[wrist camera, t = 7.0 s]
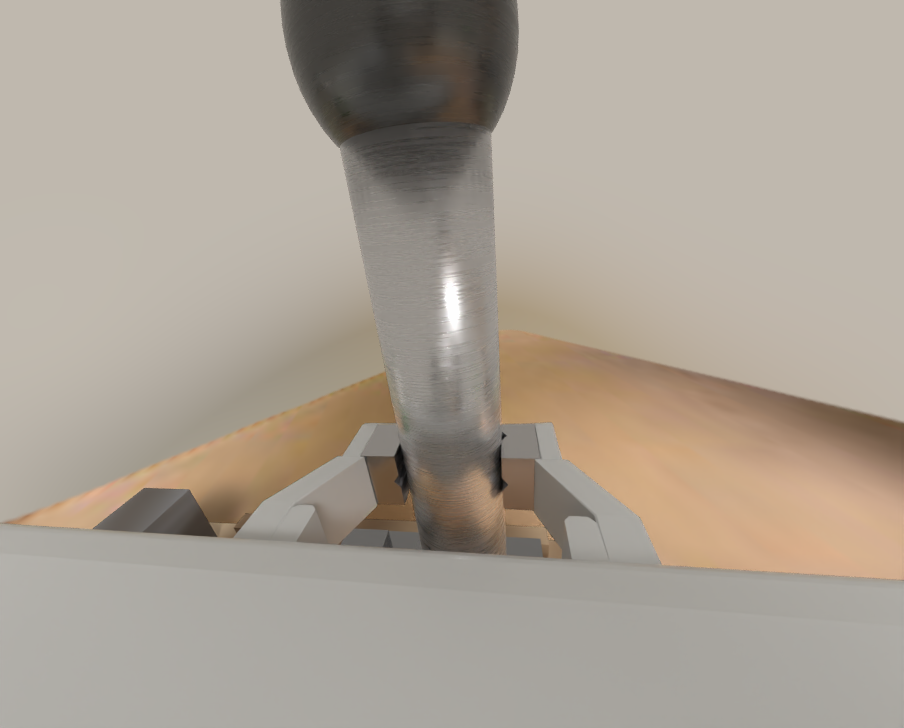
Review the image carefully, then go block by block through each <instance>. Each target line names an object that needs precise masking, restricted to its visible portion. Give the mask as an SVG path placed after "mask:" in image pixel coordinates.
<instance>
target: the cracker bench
mask: <svg viewBox="0 0 904 728" xmlns="http://www.w3.org/2000/svg"><path fill="white" fill-rule="evenodd" d="M251 515H252V514H247V513H245V515H244V516H243V517H242V518H241V519H240V521H239V522H238V523H237V524H230V523H211V522H208V520H207V518H206V517H205V515H204V513H203V512H202V510H201V508H200V507H199V505H198V503H197V502H196V500H195V498H194V497H193V495H192V493H191V492H190V490H188V489H158V488H144V489H142V490H141V491H140V492H139V493H137V494H136V495H135V496H133V497H132V498H131V499H130V500H128V501H127V502H126V503H125V504H123V505H122V506H121V507H120V508H118V509H117V510H116V511H114V512H113V513H112V514H111V515H109V516H108V517H107V518H106V519H104V520H103V521H102V522H100V523H99V524H98V525H97V526H95V527H94V528H93V529H96V530H112V531H128V532H144V533H160V534H176V535H192V536H208V537H224V538H233V537H234V536H235V535H236V534H237V532H238V531H239V530H240V529H241V527H242V526H243V525H244V524H245V523H246V521H247V520H248V519H249V518H250V516H251ZM505 527H506V537H518V538H537V539H541V546H542V553H543V558H558V559H562V549H561V548H560V546H559V545H558V544H557V542H556V541H555V540H548V535H547V529H546V528H545V527H532V526H510V525H505ZM355 529H375V530H389V531H401V532H418V527H417V522H416V521H401V520H379V519H364V520H363V521H361V522H360V523H359V524H358V525H357V526H356V527H355ZM341 542H342V541H341ZM341 542H340V543H339V544H338V545H341Z"/></svg>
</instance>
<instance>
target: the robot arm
mask: <svg viewBox="0 0 904 728" xmlns="http://www.w3.org/2000/svg"><path fill="white" fill-rule="evenodd" d="M501 461H502V491H503V509H516V510H531V511H534V513H535V514H536V515H537V517H538V518H539V519H540V521H541V522H542V523H543V525H544V526H545V528H546V529H547V530H548V532H549V533H550V534H551V536H552V537H553V538H554V540H555V541H556V542H557V544H558V545H559V546H560V548H561V549H562V559H558V558H543V557H527V556H511V555H496V554H480V553H465V552H449V551H432V550H416V549H400V548H384V547H368V546H352V545H338V544H339V543H340V542H341V541H342V540H343V539H344V538H345V537H346V536H347V535H348V534H349V533H350V532H351V531H352V530H353V529H354V528H355V527H356V526H357V525H358V524H359V523H360V522H361V521H363V520H364V519H365V518H366V517H367V516H368V515H369V514H370V513H371V512H372V511H373V510H374V509H375V508H376V507H377V504H389V505H405V502H406V499H407V496H408V493H409V490H410V488H409V483H408V478H407V473H406V469H405V464H404V459H403V454H402V449H401V444H400V439H399V434H398V429H397V425H396V423H365V424H363V425H362V426H361V428H360V429H359V431H358V432H357V434H356V436H355V437H354V439H353V440H352V442H351V443H350V445H349V446H348V448H347V450H346V451H345V453H344V454H343V456H337V457H336V458H334V459H332V460H331V461H329V462H327V463H326V464H324V465H322V466H321V467H319V468H317V469H316V470H314V471H312V472H311V473H309V474H307V475H306V476H304V477H302V478H301V479H299V480H297V481H296V482H294V483H292V484H291V485H289V486H288V487H286V488H284V489H283V490H281V491H279V492H278V493H276V494H274V495H273V496H271V497H269V498H268V499H266V500H264V501H263V502H262V503H261V504H260V505H259V507H258V508H257V509H256V510H255V511H254V513H253V514H252V515H251V516H250V518H249V519H248V520H247V521H246V523H245V524H244V525H243V526H242V527H241V529H240V530H239V531H238V532H237V534H236V535H235V536H234V537H233V538H224V537H208V536H192V535H176V534H160V533H144V532H128V531H112V530H96V529H80V528H64V527H48V526H32V525H19V524H7V523H0V728H904V580H896V579H880V578H864V577H848V576H832V575H816V574H800V573H784V572H768V571H752V570H736V569H720V568H704V567H688V566H672V565H662V564H661V562H660V560H659V558H658V556H657V553H656V551H655V549H654V547H653V545H652V543H651V540H650V538H649V536H648V534H647V532H646V529H645V527H644V525H643V523H642V521H641V519H640V517H638V516H637V515H636V514H635V513H633V512H632V511H631V510H630V509H628V508H627V507H626V506H625V505H623V504H622V503H621V502H620V501H618V500H617V499H616V498H615V497H613V496H612V495H611V494H610V493H608V492H607V491H606V490H605V489H603V488H602V487H601V486H600V485H598V484H597V483H596V482H595V481H593V480H592V479H591V478H590V477H588V476H587V475H586V474H585V473H583V472H582V471H581V470H580V469H578V468H577V467H576V466H575V465H573V464H572V463H571V462H570V461H568V460H562V457H561V453H560V449H559V446H558V442H557V438H556V434H555V430H554V426H553V424H552V423H534V424H502V441H501Z"/></svg>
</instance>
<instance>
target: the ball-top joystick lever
mask: <svg viewBox="0 0 904 728" xmlns="http://www.w3.org/2000/svg"><path fill="white" fill-rule="evenodd" d="M281 16H282V26H283V32H284V38H285V43H286V48H287V52H288V56H289V59H290V62H291V66H292V69H293V73H294V76H295V78H296V81H297V83H298V86H299V88H300V91H301V93H302V95H303V97H304V99H305V101H306V103H307V105H308V107H309V109H310V110H311V112H312V114H313V115H314V116H315V118H316V120H317V121H318V123H319V124H320V126H321V127H322V129H323V130H324V131H325V133H326V134H327V135H328V136H329V137H330V139H331V140H332V141H333V142H334V143H335V144H336V145H337V146H338V147H339V148H340V151H341V156H342V161H343V166H344V170H345V175H346V180H347V185H348V190H349V195H350V200H351V204H352V209H353V214H354V219H355V224H356V229H357V233H358V239H359V244H360V249H361V253H362V258H363V263H364V268H365V273H366V278H367V283H368V287H369V293H370V297H371V302H372V307H373V312H374V317H375V321H376V326H377V332H378V337H379V341H380V346H381V351H382V356H383V361H384V365H385V371H386V376H387V381H388V385H389V390H390V395H391V400H392V405H393V410H394V415H395V420H396V425H397V429H398V434H399V439H400V444H401V449H402V454H403V459H404V464H405V469H406V473H407V478H408V483H409V488H410V493H411V498H412V503H413V508H414V512H415V517H416V522H417V527H418V532H401V531H389V530H375V529H355V528H354V529H353V530H352V531H351V532H350V533H349V534H348V535H347V536H346V537H345V538H344V539H343V540H342V542H341V545H352V546H368V547H384V548H400V549H416V550H432V551H449V552H465V553H480V554H496V555H511V556H527V557H543V553H542V546H541V539H537V538H518V537H506V527H505V509H503V491H502V461H501V441H502V418H501V390H500V363H499V336H498V310H497V309H498V308H497V283H496V282H497V281H496V255H495V229H494V199H493V173H492V145H491V133H492V132H493V130H494V128H495V127H496V125H497V123H498V121H499V119H500V117H501V115H502V112H503V111H504V108H505V105H506V102H507V100H508V97H509V94H510V90H511V86H512V82H513V78H514V74H515V68H516V61H517V54H518V34H519V30H518V11H517V0H281Z"/></svg>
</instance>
